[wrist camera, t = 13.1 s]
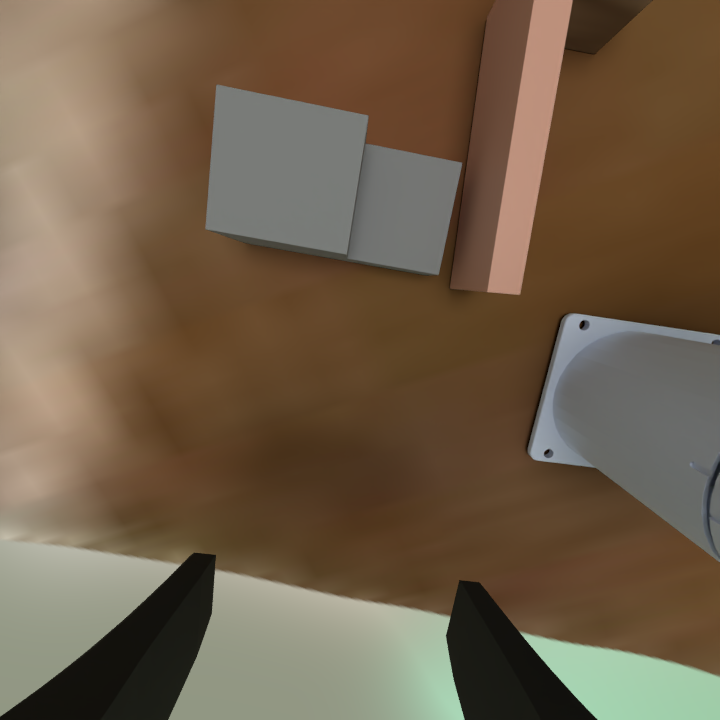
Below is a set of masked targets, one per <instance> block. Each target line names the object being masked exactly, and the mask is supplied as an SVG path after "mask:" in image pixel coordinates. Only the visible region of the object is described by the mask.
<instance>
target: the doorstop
mask: <svg viewBox="0 0 720 720" xmlns="http://www.w3.org/2000/svg"><path fill="white" fill-rule="evenodd" d="M367 125H368V115H363V114H358V113H353V112H348V111H343V110H338V109H333V108H328V107H324V106H319V105H314V104H309V103H304V102H299V101H294V100H289V99H284V98H279V97H275V96H270V95H265V94H260V93H255V92H250V91H245V90H240V89H235V88H231V87H226V86H221V85H216V98H215V111H214V125H213V138H212V151H211V164H210V177H209V190H208V203H207V216H206V229H207V230H209V231H212V232H215V233H218V234H221V235H224V236H226V237H229V238H232V239H235V240H238V241H241V242H243V243H248V244H253V245H259V246H264V247H270V248H276V249H281V250H287V251H292V252H298V253H304V254H309V255H315V256H320V257H326V258H332V259H337V260H343V261H348V262H354V263H360V264H365V265H371V266H376V267H382V268H388V269H393V270H399V271H405V272H410V273H416V274H421V275H427V276H429V275H439V271H440V266H441V261H442V256H443V252H444V247H445V242H446V238H447V233H448V228H449V223H450V219H451V214H452V209H453V205H454V200H455V195H456V190H457V186H458V181H459V176H460V171H461V167H462V163H460V162H455V161H450V160H445V159H440V158H435V157H430V156H425V155H420V154H415V153H410V152H405V151H400V150H395V149H390V148H385V147H380V146H375V145H370V144H366V134H367Z"/></svg>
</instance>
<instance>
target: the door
mask: <svg viewBox="0 0 720 720" xmlns="http://www.w3.org/2000/svg"><path fill="white" fill-rule="evenodd" d="M572 2H573V0H496V1H495V3H494V5H493V7H492V8H491V10H490V12H489V14H488V16H487V22H486V29H485V36H484V43H483V51H482V58H481V65H480V72H479V80H478V87H477V94H476V101H475V109H474V116H473V123H472V130H471V138H470V145H469V152H468V159H467V167H466V174H465V181H464V188H463V196H462V203H461V210H460V217H459V225H458V232H457V239H456V246H455V254H454V261H453V268H452V275H451V283H450V289H458V290H469V291H481V292H493V293H505V294H516V295H520V292H521V286H522V281H523V275H524V270H525V264H526V258H527V253H528V247H529V242H530V236H531V231H532V225H533V219H534V214H535V208H536V203H537V197H538V192H539V186H540V180H541V175H542V169H543V164H544V158H545V153H546V147H547V141H548V136H549V130H550V125H551V119H552V114H553V108H554V102H555V97H556V91H557V86H558V80H559V75H560V69H561V63H562V58H563V52H564V47H565V41H566V36H567V30H568V24H569V19H570V13H571V8H572Z"/></svg>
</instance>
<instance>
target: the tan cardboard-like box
mask: <svg viewBox="0 0 720 720" xmlns="http://www.w3.org/2000/svg"><path fill="white" fill-rule="evenodd" d="M651 1H653V0H573V2H572V8H571V13H570V19H569V24H568V30H567V36H566V41H565V47H564V48H565V49H571V50H576V51H581V52H586V53H592V54H595V53H596V52H598V51H599V50H600V49H601V48H602V47H603V46H604V45H605V44H606V43H607V42H608V41H609V40H610V39H612V38H613V37H614V36H615V35H616V34H617V33H618V32H619V31H620V30H621V29H622V28H623V27H624V26H626V25H627V24H628V23H629V22H630V21H631V20H632V19H633V18H634V17H635V16H636V15H637V14H638V13H640V12H641V11H642V10H643V9H644V8H645V7H646V6H647V5H648V4H649V3H650V2H651Z"/></svg>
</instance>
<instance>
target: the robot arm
mask: <svg viewBox="0 0 720 720" xmlns="http://www.w3.org/2000/svg"><path fill="white" fill-rule="evenodd" d="M583 320H584V322H585V325H584V327H583V328H582V329H580V328H579V324H580V322H581V321H583ZM712 341H713V344H711V343H712ZM547 449H550V451H549V453H547V454H545V455H544V452H545V451H546V450H547ZM528 454H529V455H530V456H531V457H532V458H533V459H534V460H537V461H545V462H553V463H561V464H569V465H577V466H585V467H594V468H597V469H598V470H599V471H601V472H602V473H603V474H605V475H606V476H607V477H609V478H610V479H611V480H613V481H614V482H615V483H616V484H618V485H619V486H620V487H622V488H623V489H624V490H626V491H627V492H628V493H630V494H631V495H632V496H633V497H635V498H636V499H637V500H639V501H640V502H641V503H643V504H644V505H645V506H647V507H648V508H649V509H651V510H652V511H653V512H654V513H656V514H657V515H658V516H660V517H661V518H662V519H664V520H665V521H666V522H668V523H669V524H670V525H671V526H673V527H674V528H675V529H677V530H678V531H679V532H681V533H682V534H683V535H685V536H686V537H687V538H688V539H690V540H691V541H692V542H694V543H695V544H696V545H698V546H699V547H700V548H702V549H703V550H704V551H706V552H707V553H708V554H709V555H711V556H712V557H713V558H715V559H716V560H717V561H719V562H720V335H716V334H710V333H703V332H696V331H690V330H683V329H676V328H670V327H663V326H656V325H649V324H643V323H636V322H629V321H623V320H616V319H609V318H602V317H596V316H589V315H582V314H576V313H569V314H567V315H565V316H564V317H563V319H562V321H561V324H560V328H559V332H558V336H557V339H556V343H555V347H554V351H553V355H552V358H551V362H550V366H549V370H548V374H547V377H546V381H545V385H544V389H543V392H542V396H541V400H540V404H539V408H538V411H537V415H536V419H535V423H534V426H533V430H532V434H531V438H530V442H529V445H528ZM215 560H216V555H211V554H201V553H193V554H192V555H191V556H190V557H189V558H188V559H187V560H186V561H185V562H184V563H183V564H182V565H181V566H180V567H179V568H178V569H177V570H176V571H175V572H174V573H173V574H172V575H171V576H170V577H169V578H168V579H167V580H166V581H165V582H164V583H163V584H162V585H160V587H158V588H157V589H156V590H155V591H154V592H153V593H152V594H151V595H150V596H149V597H148V598H147V599H146V600H145V601H144V602H142V603H141V604H140V606H138V607H137V608H136V609H135V610H134V611H133V612H132V613H131V614H130V615H129V616H127V617H126V618H125V619H124V620H123V621H122V622H121V623H119V624H118V625H117V626H116V627H115V628H114V629H112V630H111V631H110V632H109V633H108V634H107V635H105V636H104V637H103V638H102V639H101V640H100V641H99V642H97V643H96V644H95V645H94V646H93V647H92V648H91V649H89V650H88V651H87V652H85V653H84V654H83V655H82V656H81V657H80V658H78V659H77V660H76V661H74V662H73V663H72V664H71V665H69V666H68V667H67V668H65V669H64V670H63V671H62V672H61V673H59V674H58V675H56V676H55V677H54V678H53V679H51V680H50V681H49V682H47V683H46V684H45V685H43V686H42V687H41V688H39V689H38V690H37V691H35V692H34V693H33V694H31V695H30V696H28V697H27V698H26V699H24V700H23V701H22V702H20V703H19V704H17V705H16V706H15V707H13V708H12V709H10V710H9V711H8V712H6V713H5V714H3V715H2V716H1V717H0V720H168V719H169V717H170V714H171V712H172V710H173V708H174V706H175V703H176V701H177V699H178V697H179V695H180V692H181V690H182V688H183V686H184V684H185V681H186V679H187V677H188V675H189V672H190V670H191V668H192V666H193V664H194V661H195V659H196V657H197V654H198V651H199V649H200V646H201V643H202V640H203V637H204V635H205V631H206V629H207V625H208V623H209V620H210V617H211V614H212V602H213V588H214V587H213V586H214V574H215ZM446 638H447V644H448V650H449V656H450V662H451V667H452V673H453V677H454V682H455V686H456V689H457V693H458V697H459V700H460V704H461V708H462V711H463V715H464V718H465V720H597V719H596V718H595V717H594V716H593V715H592V714H591V713H590V712H589V711H588V710H587V709H586V708H585V706H584V705H582V703H581V702H580V701H579V700H578V699H577V698H576V697H575V696H574V695H573V694H572V693H571V691H570V690H569V689H568V688H567V687H566V686H565V685H564V684H563V683H562V682H561V680H560V679H559V678H558V677H557V676H556V675H555V674H554V673H553V672H552V670H550V668H549V667H548V666H547V665H546V664H545V662H544V661H543V660H542V659H541V658H540V657H539V655H538V654H537V653H536V652H535V651H534V650H533V648H532V647H531V646H530V645H529V644H528V642H527V641H526V640H525V639H524V637H523V636H522V635H521V634H520V633H519V631H518V630H517V629H516V628H515V626H514V625H513V624H512V623H511V621H510V620H509V619H508V618H507V616H506V615H505V614H504V613H503V611H502V610H501V609H500V608H499V606H498V605H497V604H496V603H495V601H494V600H493V599H492V597H491V596H490V595H489V594H488V592H487V591H486V590H485V589H484V587H483V586H482V585H481V584H480V583H479V582H471V581H461V580H459V585H458V589H457V593H456V597H455V601H454V605H453V610H452V614H451V618H450V622H449V627H448V630H447V634H446Z"/></svg>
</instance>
